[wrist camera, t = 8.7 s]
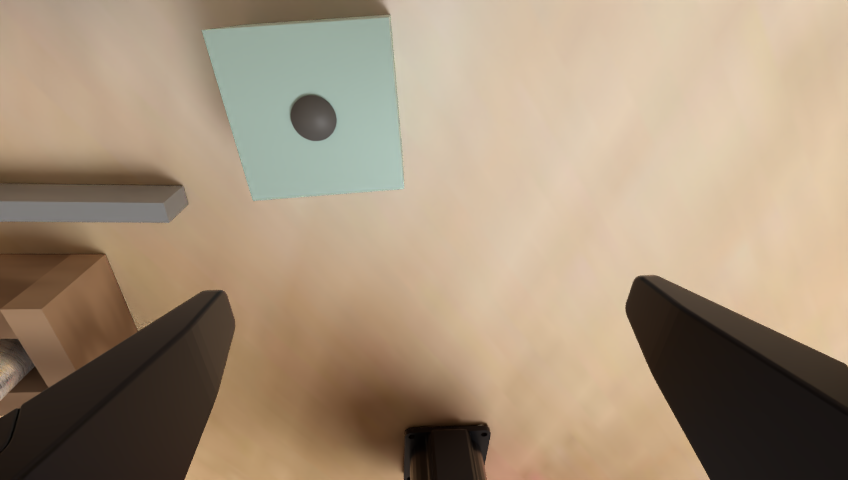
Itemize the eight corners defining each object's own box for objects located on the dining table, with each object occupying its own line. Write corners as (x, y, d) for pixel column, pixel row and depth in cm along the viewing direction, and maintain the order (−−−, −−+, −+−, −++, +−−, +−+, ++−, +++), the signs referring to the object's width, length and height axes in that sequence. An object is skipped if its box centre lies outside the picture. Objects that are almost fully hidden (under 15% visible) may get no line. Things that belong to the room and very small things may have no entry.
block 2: (402, 153, 20) (404, 189, 16) (280, 162, 20) (252, 201, 16) (390, 14, 17) (389, 17, 13) (246, 24, 17) (200, 30, 13)
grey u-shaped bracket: (188, 204, 20) (169, 222, 19) (-48, 201, 20) (-91, 221, 18) (113, -67, 15) (75, -77, 13) (-221, -87, 14) (-307, -99, 12)
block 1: (145, 349, 25) (99, 412, 21) (24, 351, 24) (-46, 417, 21) (105, 254, 21) (41, 309, 18) (-37, 254, 21) (-135, 310, 17)
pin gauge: (93, 321, 24) (-31, 450, 17) (49, 321, 23) (-95, 453, 17) (77, 288, 22) (-64, 413, 16) (31, 288, 22) (-132, 415, 15)
